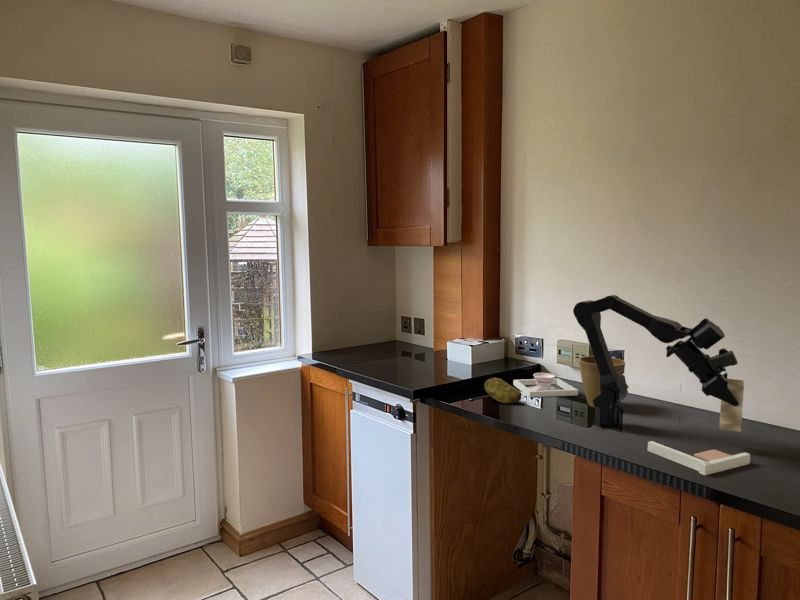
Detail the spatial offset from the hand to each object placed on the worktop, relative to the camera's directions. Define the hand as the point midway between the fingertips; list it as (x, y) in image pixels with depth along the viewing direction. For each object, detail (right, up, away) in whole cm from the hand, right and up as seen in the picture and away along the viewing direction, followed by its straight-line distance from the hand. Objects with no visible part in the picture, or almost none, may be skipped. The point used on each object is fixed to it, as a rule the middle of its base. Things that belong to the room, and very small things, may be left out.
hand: (737, 403), depth 159 cm
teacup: (-37, -7, +63) cm, 73 cm away
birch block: (-1, -7, +1) cm, 7 cm away
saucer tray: (-37, -6, +64) cm, 74 cm away
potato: (-56, -8, +48) cm, 74 cm away
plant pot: (-23, -9, +43) cm, 49 cm away
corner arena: (-14, -13, -5) cm, 20 cm away
